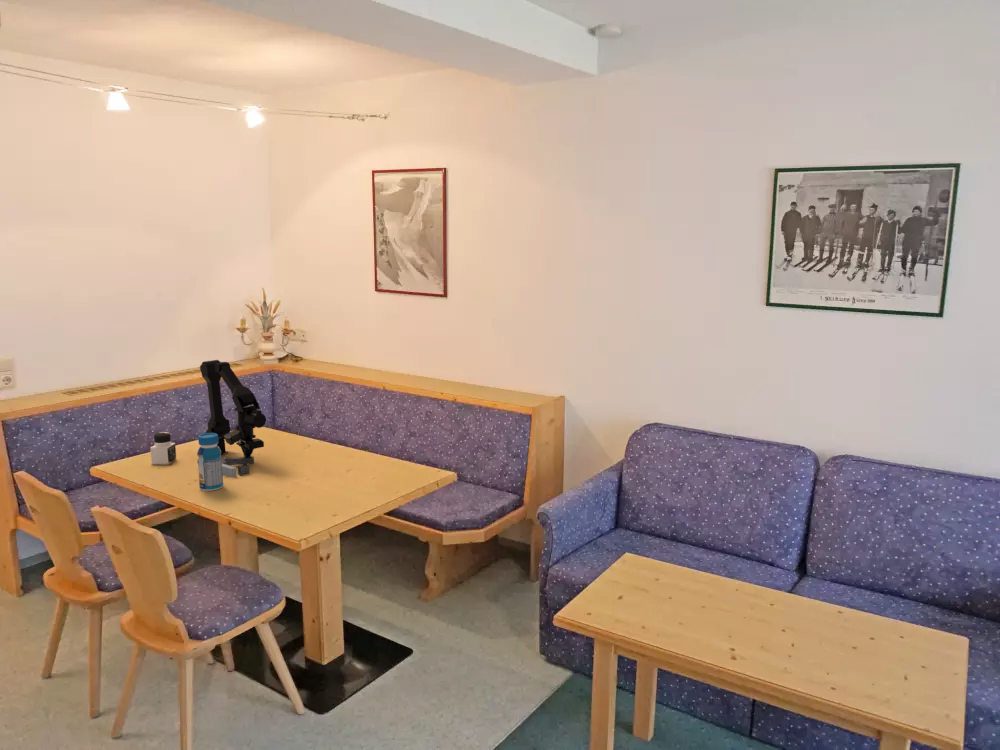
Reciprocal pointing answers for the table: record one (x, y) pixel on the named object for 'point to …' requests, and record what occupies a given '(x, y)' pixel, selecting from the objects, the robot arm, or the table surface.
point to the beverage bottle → (209, 462)
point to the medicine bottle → (163, 449)
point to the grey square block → (243, 469)
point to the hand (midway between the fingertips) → (247, 460)
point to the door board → (228, 471)
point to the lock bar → (238, 460)
